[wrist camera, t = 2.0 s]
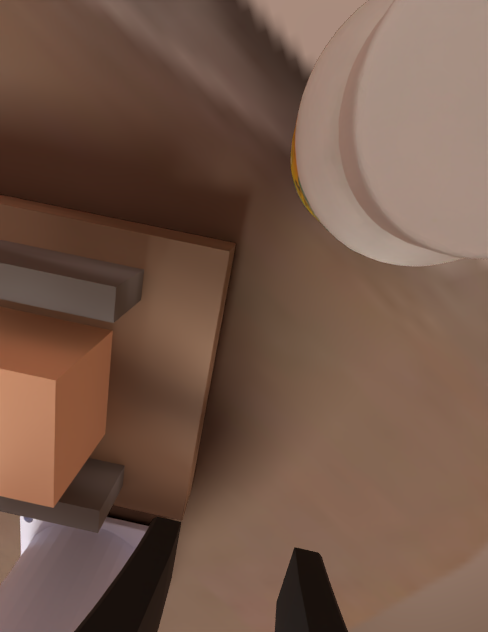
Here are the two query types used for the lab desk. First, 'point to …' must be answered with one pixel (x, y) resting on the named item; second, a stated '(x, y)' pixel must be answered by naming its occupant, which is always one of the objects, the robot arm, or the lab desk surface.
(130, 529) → the robot arm
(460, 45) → the supplement bottle
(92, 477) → the tunnel deck
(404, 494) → the lab desk surface
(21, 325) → the terracotta block
